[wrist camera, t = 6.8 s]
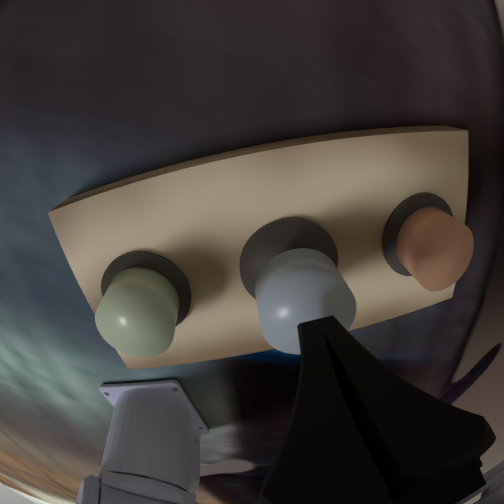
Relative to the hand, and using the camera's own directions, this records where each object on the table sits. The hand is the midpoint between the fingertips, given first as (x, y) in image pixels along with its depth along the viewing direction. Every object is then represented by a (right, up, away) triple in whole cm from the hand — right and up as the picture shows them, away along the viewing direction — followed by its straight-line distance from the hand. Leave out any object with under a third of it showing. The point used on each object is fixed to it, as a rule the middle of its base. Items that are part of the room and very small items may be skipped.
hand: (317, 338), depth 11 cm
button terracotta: (+7, +4, +4) cm, 9 cm away
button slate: (0, +2, +3) cm, 3 cm away
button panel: (-1, +4, +7) cm, 8 cm away
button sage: (-8, +1, +5) cm, 9 cm away
